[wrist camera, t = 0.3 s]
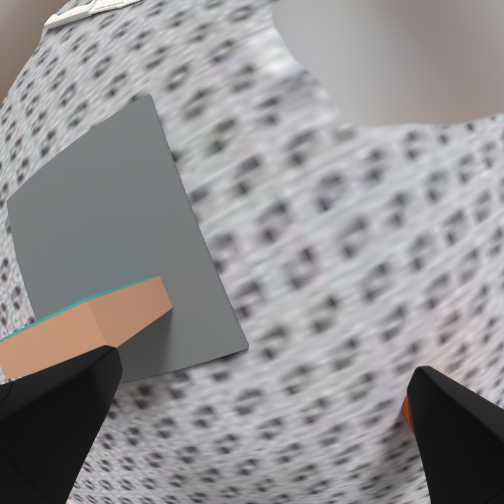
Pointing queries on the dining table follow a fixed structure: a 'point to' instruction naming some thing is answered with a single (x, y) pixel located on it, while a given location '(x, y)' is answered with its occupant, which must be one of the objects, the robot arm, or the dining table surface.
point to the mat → (123, 241)
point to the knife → (85, 11)
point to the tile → (84, 327)
